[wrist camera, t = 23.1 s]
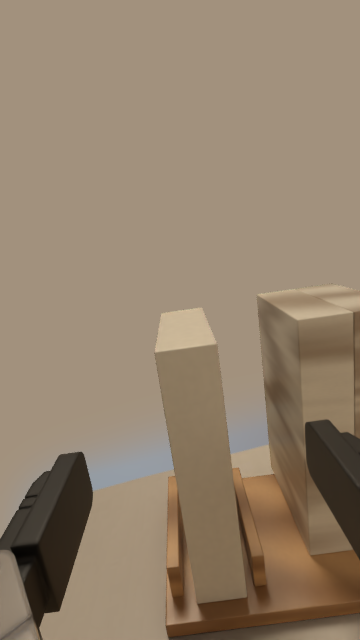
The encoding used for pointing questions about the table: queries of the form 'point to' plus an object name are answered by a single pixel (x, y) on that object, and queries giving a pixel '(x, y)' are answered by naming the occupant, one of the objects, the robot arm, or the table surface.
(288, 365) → the wooden book rack
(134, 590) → the table surface
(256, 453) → the table surface
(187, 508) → the white book
